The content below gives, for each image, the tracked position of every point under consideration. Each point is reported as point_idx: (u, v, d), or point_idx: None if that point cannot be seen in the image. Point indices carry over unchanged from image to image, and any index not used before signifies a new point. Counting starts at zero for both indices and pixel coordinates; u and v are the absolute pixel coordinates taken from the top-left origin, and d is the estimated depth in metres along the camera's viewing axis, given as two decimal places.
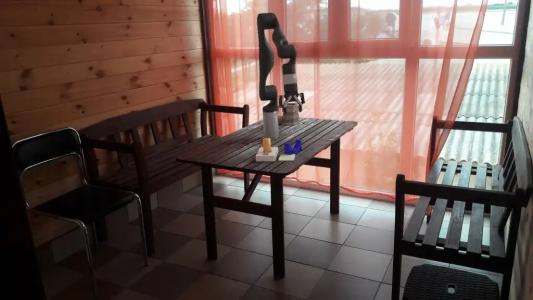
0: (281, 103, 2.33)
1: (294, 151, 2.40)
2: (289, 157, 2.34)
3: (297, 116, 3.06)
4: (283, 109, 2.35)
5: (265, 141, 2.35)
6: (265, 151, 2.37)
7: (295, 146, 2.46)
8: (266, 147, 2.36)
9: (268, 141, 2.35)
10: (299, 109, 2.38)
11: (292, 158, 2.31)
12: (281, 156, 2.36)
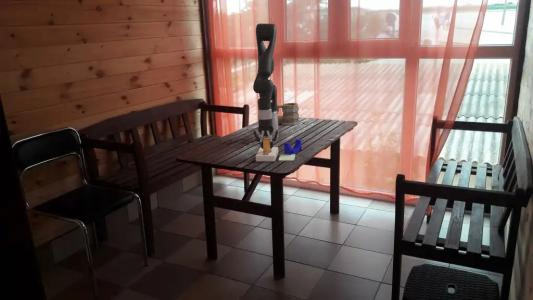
0: (256, 138, 2.36)
1: (294, 151, 2.40)
2: (289, 157, 2.34)
3: (297, 116, 3.06)
4: None
5: (265, 141, 2.35)
6: (265, 151, 2.37)
7: (295, 146, 2.46)
8: (266, 147, 2.36)
9: (268, 141, 2.35)
10: None
11: (292, 158, 2.31)
12: (281, 156, 2.36)
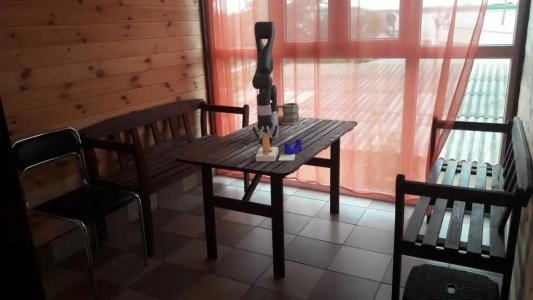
0: (256, 134, 2.34)
1: (294, 151, 2.40)
2: (289, 157, 2.34)
3: (297, 116, 3.06)
4: None
5: (265, 137, 2.34)
6: (265, 147, 2.36)
7: (295, 146, 2.46)
8: (266, 143, 2.35)
9: (268, 137, 2.35)
10: None
11: (292, 158, 2.31)
12: (281, 156, 2.36)
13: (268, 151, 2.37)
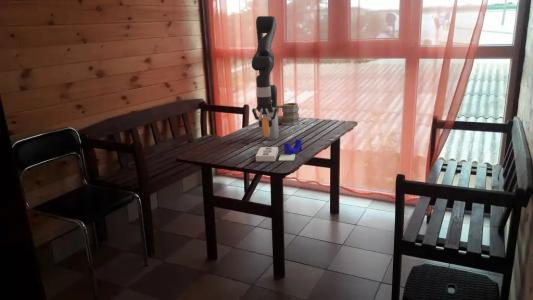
0: (255, 116, 2.33)
1: (294, 151, 2.40)
2: (289, 157, 2.34)
3: (297, 116, 3.06)
4: (259, 122, 2.34)
5: (264, 120, 2.32)
6: (264, 130, 2.33)
7: (295, 146, 2.46)
8: (264, 125, 2.32)
9: (267, 120, 2.32)
10: (269, 124, 2.34)
11: (292, 158, 2.31)
12: (281, 156, 2.36)
13: (267, 134, 2.34)
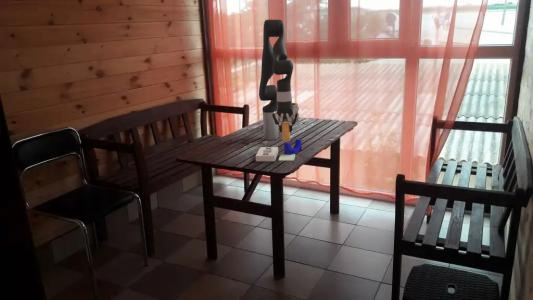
0: (275, 121, 2.29)
1: (294, 151, 2.40)
2: (289, 157, 2.34)
3: (297, 116, 3.06)
4: (279, 127, 2.30)
5: (284, 125, 2.28)
6: (284, 135, 2.29)
7: (295, 146, 2.46)
8: (285, 130, 2.28)
9: (287, 125, 2.28)
10: None
11: (292, 158, 2.31)
12: (281, 156, 2.36)
13: (287, 139, 2.30)
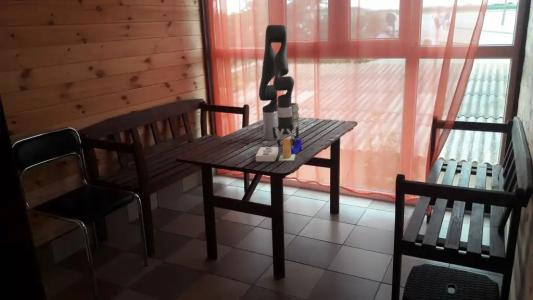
0: (274, 135, 2.31)
1: (294, 151, 2.40)
2: None
3: (297, 116, 3.06)
4: None
5: (285, 141, 2.30)
6: (285, 151, 2.32)
7: (295, 146, 2.46)
8: (286, 147, 2.31)
9: (288, 141, 2.30)
10: None
11: (292, 158, 2.31)
12: (281, 156, 2.36)
13: (288, 155, 2.32)
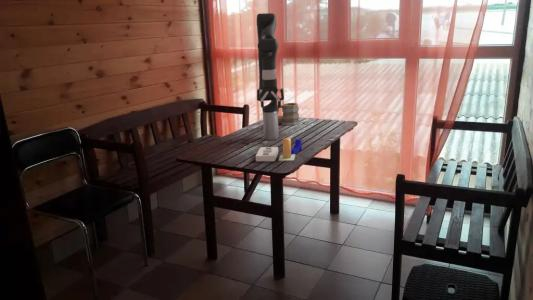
0: (258, 97, 2.33)
1: (294, 151, 2.40)
2: None
3: (297, 116, 3.06)
4: None
5: (285, 141, 2.30)
6: (285, 151, 2.32)
7: (295, 146, 2.46)
8: (286, 147, 2.31)
9: (288, 141, 2.30)
10: (278, 105, 2.34)
11: (292, 158, 2.31)
12: (281, 156, 2.36)
13: (288, 155, 2.32)
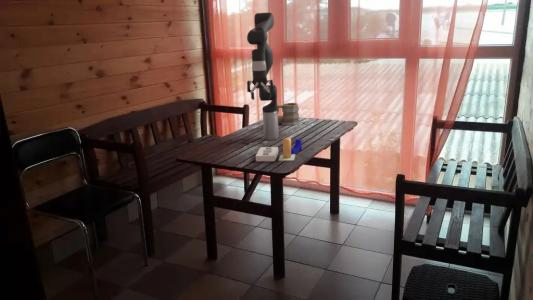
0: (248, 89, 2.37)
1: (294, 151, 2.40)
2: None
3: (297, 116, 3.06)
4: (251, 94, 2.39)
5: (285, 141, 2.30)
6: (285, 151, 2.32)
7: (295, 146, 2.46)
8: (286, 147, 2.31)
9: (288, 141, 2.30)
10: (268, 96, 2.38)
11: (292, 158, 2.31)
12: (281, 156, 2.36)
13: (288, 155, 2.32)
